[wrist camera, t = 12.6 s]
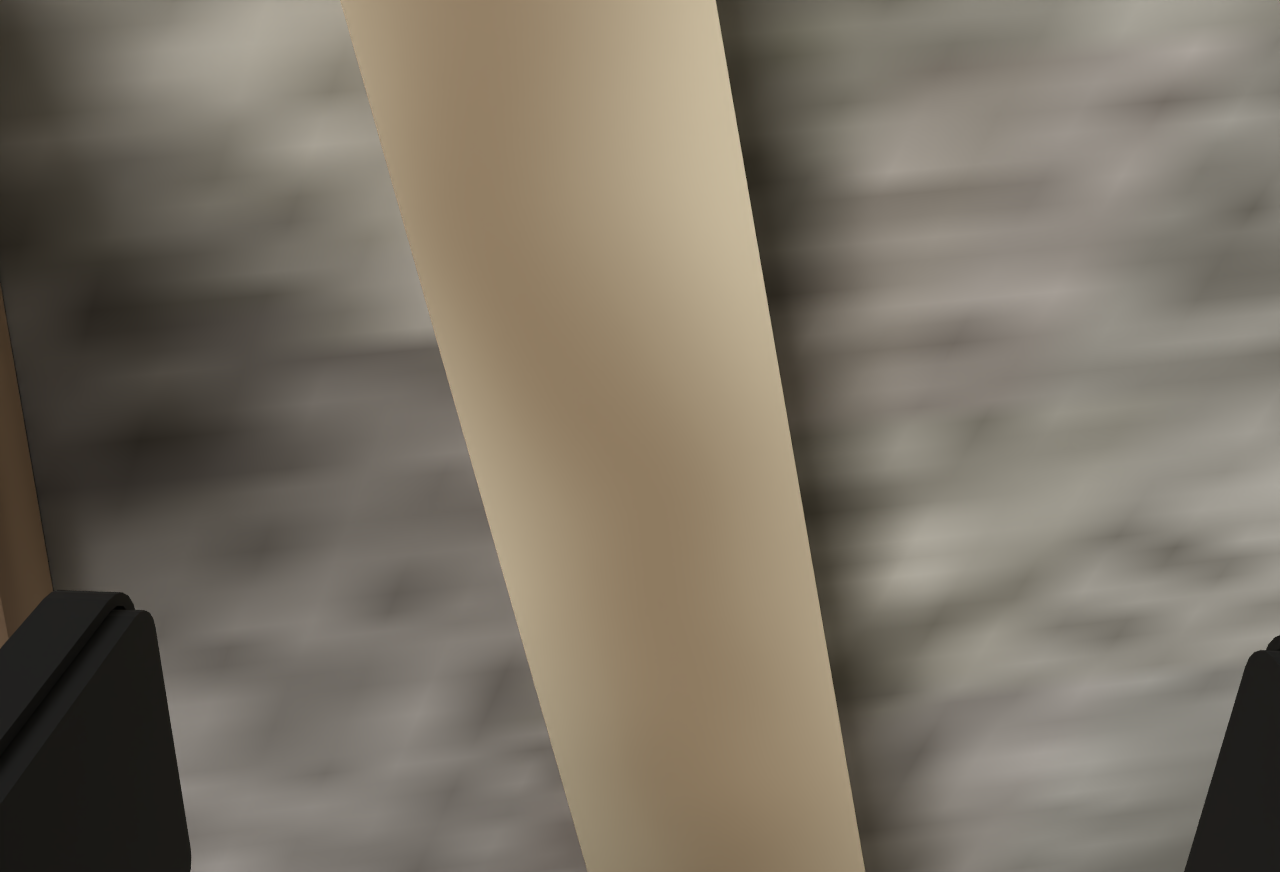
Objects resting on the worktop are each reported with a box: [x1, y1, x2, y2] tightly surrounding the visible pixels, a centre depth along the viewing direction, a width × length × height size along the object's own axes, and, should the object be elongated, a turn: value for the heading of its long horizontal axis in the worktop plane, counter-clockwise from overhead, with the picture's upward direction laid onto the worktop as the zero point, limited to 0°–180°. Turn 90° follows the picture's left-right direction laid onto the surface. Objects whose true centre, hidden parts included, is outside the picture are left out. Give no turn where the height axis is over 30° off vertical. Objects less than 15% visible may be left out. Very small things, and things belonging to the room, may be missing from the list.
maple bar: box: [340, 0, 865, 872], centre depth 17 cm, size 4×24×4 cm, turn 12°
